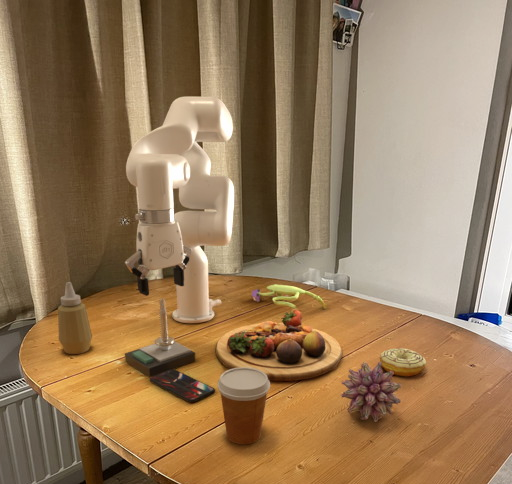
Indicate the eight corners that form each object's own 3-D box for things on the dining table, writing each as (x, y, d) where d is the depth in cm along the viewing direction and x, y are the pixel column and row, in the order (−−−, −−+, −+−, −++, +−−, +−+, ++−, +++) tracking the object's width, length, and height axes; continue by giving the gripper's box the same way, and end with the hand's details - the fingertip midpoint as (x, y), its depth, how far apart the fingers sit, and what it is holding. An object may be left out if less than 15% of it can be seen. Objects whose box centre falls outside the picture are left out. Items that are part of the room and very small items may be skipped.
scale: (169, 347, 130) (169, 336, 129) (195, 361, 123) (195, 349, 122) (125, 362, 122) (124, 350, 121) (149, 377, 114) (148, 365, 113)
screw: (178, 346, 124) (169, 354, 119) (161, 343, 125) (151, 351, 121) (176, 296, 119) (166, 302, 115) (158, 294, 120) (147, 300, 116)
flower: (381, 407, 107) (414, 426, 95) (329, 413, 103) (357, 433, 92) (383, 354, 105) (416, 367, 93) (330, 358, 101) (359, 372, 90)
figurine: (282, 321, 149) (282, 303, 147) (242, 296, 171) (242, 280, 169) (332, 311, 157) (333, 295, 155) (288, 288, 179) (288, 273, 177)
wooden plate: (262, 321, 148) (263, 295, 145) (362, 348, 131) (365, 319, 128) (189, 358, 124) (188, 327, 121) (300, 397, 107) (302, 362, 104)
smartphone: (172, 368, 118) (216, 389, 108) (172, 370, 118) (216, 391, 108) (147, 378, 113) (191, 401, 103) (147, 381, 113) (191, 404, 103)
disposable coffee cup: (217, 421, 98) (216, 366, 93) (266, 420, 98) (267, 365, 94) (218, 451, 89) (217, 391, 84) (271, 449, 90) (273, 390, 85)
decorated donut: (432, 368, 121) (434, 354, 120) (411, 383, 114) (414, 368, 112) (393, 355, 127) (394, 341, 126) (371, 368, 120) (373, 354, 119)
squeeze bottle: (83, 358, 124) (74, 288, 117) (54, 355, 125) (43, 286, 119) (99, 345, 131) (92, 279, 124) (71, 342, 133) (62, 277, 126)
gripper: (131, 224, 103) (138, 302, 109) (198, 213, 114) (201, 285, 120) (113, 218, 108) (121, 293, 114) (179, 209, 119) (182, 278, 125)
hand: (162, 289), depth 117 cm, fingers open, 9 cm apart
